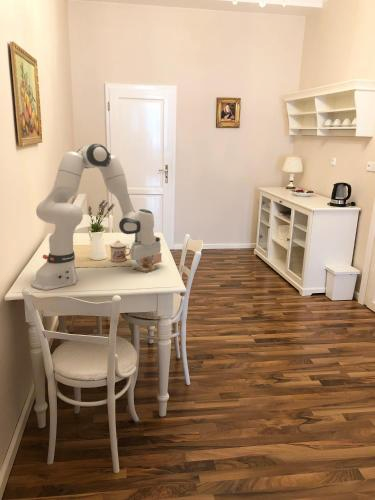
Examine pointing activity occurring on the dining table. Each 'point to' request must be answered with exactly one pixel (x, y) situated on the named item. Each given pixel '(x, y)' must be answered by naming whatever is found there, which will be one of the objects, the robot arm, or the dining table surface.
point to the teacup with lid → (119, 251)
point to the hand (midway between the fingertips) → (145, 264)
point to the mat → (145, 271)
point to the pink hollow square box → (156, 259)
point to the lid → (146, 266)
